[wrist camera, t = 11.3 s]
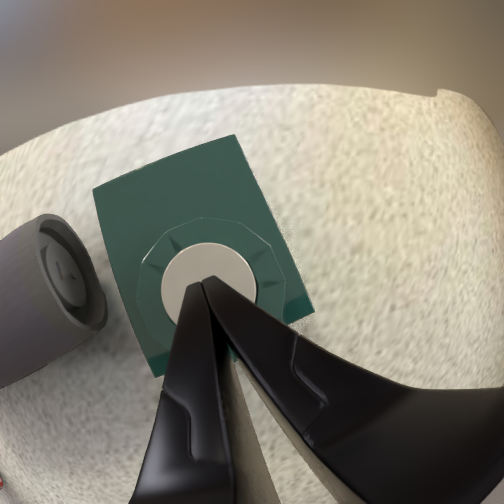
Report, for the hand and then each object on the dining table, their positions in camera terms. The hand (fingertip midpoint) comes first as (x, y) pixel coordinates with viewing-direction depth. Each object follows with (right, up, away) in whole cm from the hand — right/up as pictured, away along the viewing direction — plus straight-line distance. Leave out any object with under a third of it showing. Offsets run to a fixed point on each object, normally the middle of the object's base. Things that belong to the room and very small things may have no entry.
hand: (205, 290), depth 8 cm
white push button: (0, -1, +4) cm, 5 cm away
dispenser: (-2, 0, +13) cm, 13 cm away
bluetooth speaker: (-20, -6, +10) cm, 24 cm away
